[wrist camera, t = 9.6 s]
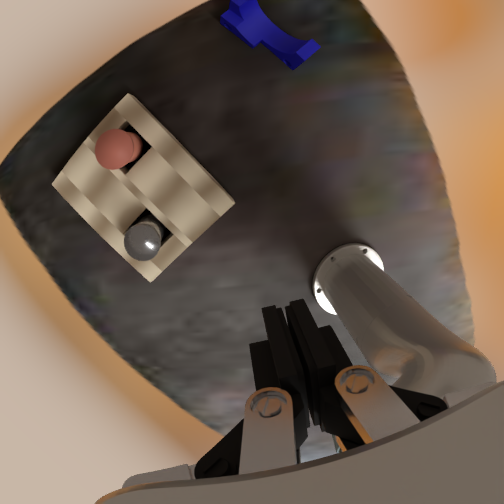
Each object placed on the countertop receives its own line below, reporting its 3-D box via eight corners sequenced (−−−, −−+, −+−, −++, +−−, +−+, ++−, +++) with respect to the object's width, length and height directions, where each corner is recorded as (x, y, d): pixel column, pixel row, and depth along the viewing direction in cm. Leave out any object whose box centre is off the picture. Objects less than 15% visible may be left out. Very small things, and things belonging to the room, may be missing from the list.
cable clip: (220, 23, 32) (221, 6, 26) (242, 5, 31) (247, -14, 25) (285, 77, 35) (296, 68, 30) (306, 58, 35) (320, 47, 29)
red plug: (152, 146, 35) (140, 148, 29) (128, 171, 36) (113, 178, 30) (129, 122, 34) (114, 120, 28) (105, 148, 34) (87, 151, 29)
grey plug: (174, 228, 41) (167, 243, 35) (152, 250, 42) (143, 268, 36) (150, 205, 39) (140, 217, 33) (129, 228, 40) (116, 243, 34)
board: (233, 199, 41) (235, 203, 38) (154, 273, 43) (150, 282, 40) (133, 96, 34) (127, 93, 31) (61, 180, 36) (51, 184, 33)
